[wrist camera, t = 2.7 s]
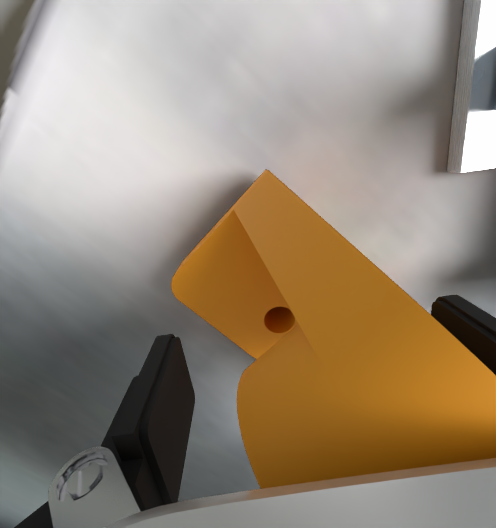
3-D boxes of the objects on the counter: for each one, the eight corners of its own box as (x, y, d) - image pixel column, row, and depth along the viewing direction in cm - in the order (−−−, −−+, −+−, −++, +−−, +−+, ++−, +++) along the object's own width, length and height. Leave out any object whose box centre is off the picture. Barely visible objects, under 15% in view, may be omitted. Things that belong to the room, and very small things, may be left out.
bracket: (175, 267, 16) (5, 531, 5) (264, 168, 14) (345, 207, 3) (304, 370, 18) (396, 697, 7) (393, 298, 17) (699, 587, 5)
